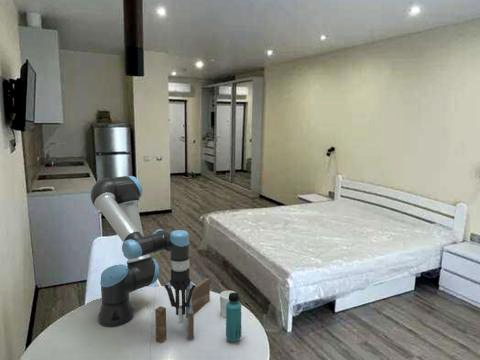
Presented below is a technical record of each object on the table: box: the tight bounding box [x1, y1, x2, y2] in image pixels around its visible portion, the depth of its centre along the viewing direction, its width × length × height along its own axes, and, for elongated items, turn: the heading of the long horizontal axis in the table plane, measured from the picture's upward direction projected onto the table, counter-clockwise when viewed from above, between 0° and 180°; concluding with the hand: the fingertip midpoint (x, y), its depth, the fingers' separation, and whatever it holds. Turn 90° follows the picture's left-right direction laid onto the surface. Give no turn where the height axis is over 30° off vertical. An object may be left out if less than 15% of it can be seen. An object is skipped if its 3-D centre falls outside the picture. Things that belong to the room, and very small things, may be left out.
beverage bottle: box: [225, 292, 242, 342], centre depth 139 cm, size 6×7×20 cm
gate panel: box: [187, 293, 195, 339], centre depth 147 cm, size 16×2×12 cm, turn 10°
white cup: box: [219, 290, 237, 319], centre depth 159 cm, size 8×8×10 cm
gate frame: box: [154, 277, 211, 344], centre depth 154 cm, size 3×38×14 cm, turn 154°
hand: (180, 321), depth 144 cm, fingers closed
